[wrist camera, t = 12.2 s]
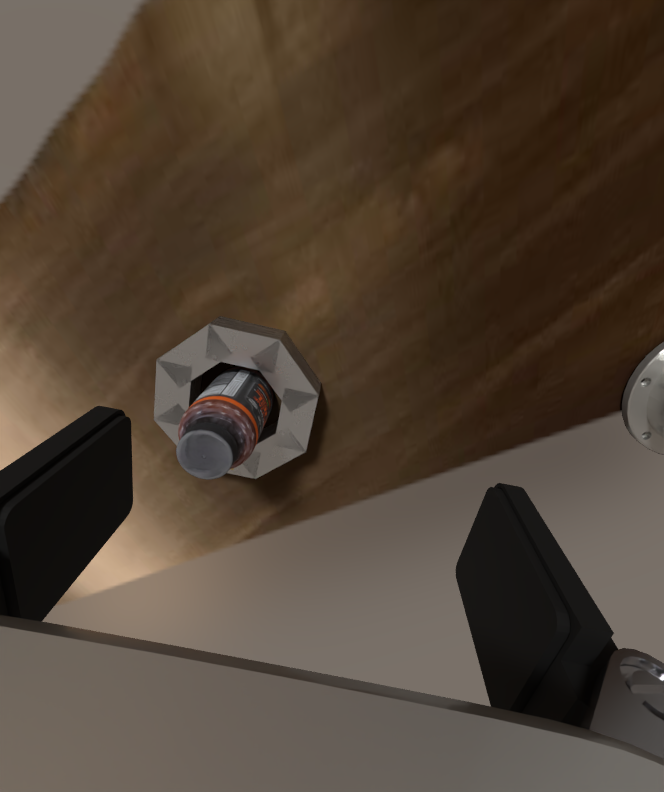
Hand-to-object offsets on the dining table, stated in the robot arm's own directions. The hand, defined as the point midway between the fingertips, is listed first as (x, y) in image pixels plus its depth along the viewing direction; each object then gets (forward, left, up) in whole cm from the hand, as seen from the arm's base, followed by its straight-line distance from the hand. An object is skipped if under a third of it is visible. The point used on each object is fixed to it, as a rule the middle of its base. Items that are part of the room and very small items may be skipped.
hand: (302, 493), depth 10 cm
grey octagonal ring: (+7, +10, -26) cm, 29 cm away
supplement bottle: (+7, +10, -26) cm, 29 cm away
